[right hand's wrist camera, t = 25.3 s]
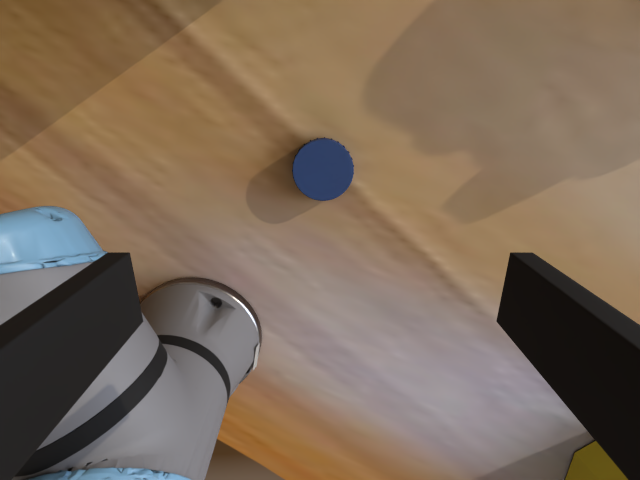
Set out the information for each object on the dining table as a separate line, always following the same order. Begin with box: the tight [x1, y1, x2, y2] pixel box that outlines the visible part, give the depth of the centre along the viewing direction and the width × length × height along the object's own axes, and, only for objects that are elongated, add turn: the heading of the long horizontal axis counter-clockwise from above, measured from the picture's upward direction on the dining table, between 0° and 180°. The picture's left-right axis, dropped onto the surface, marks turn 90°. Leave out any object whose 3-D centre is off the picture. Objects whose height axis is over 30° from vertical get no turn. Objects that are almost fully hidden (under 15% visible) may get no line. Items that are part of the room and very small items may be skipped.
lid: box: [292, 137, 354, 201], centre depth 36 cm, size 6×6×2 cm
